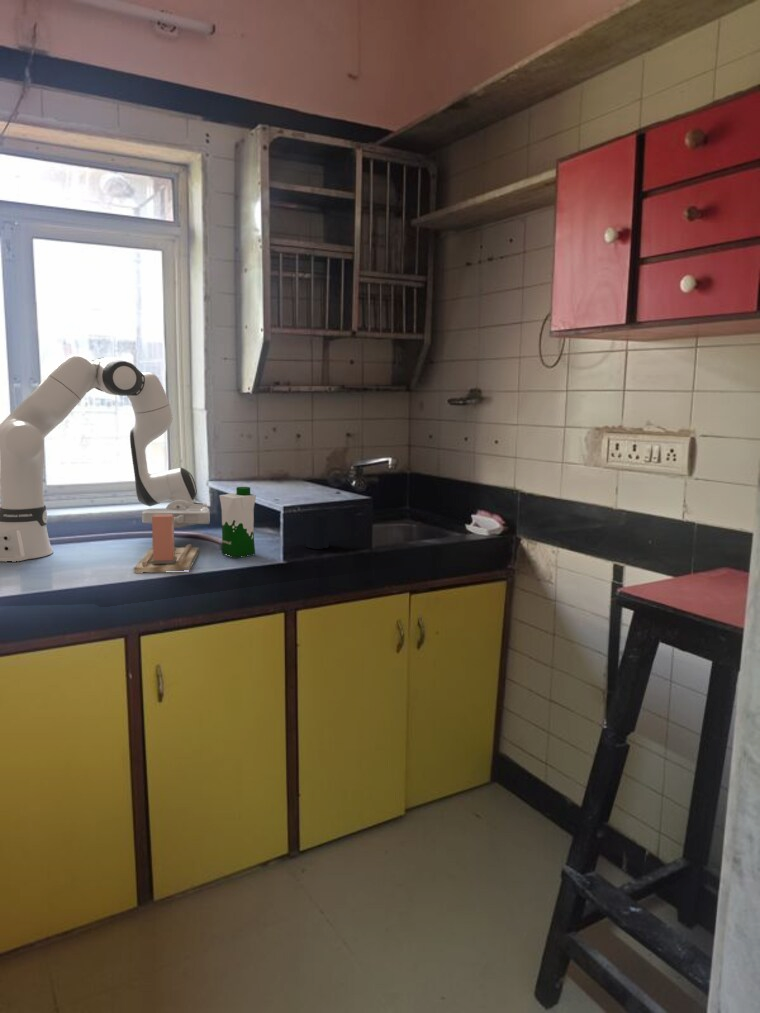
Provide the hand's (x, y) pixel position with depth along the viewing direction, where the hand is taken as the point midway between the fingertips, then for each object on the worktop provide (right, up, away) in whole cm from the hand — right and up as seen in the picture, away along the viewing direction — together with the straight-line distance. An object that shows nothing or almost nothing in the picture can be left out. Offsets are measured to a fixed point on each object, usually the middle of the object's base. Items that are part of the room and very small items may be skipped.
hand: (173, 520), depth 211 cm
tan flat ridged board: (+2, -11, -12) cm, 17 cm away
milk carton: (+20, -10, -2) cm, 22 cm away
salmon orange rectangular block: (+3, -11, -19) cm, 22 cm away
